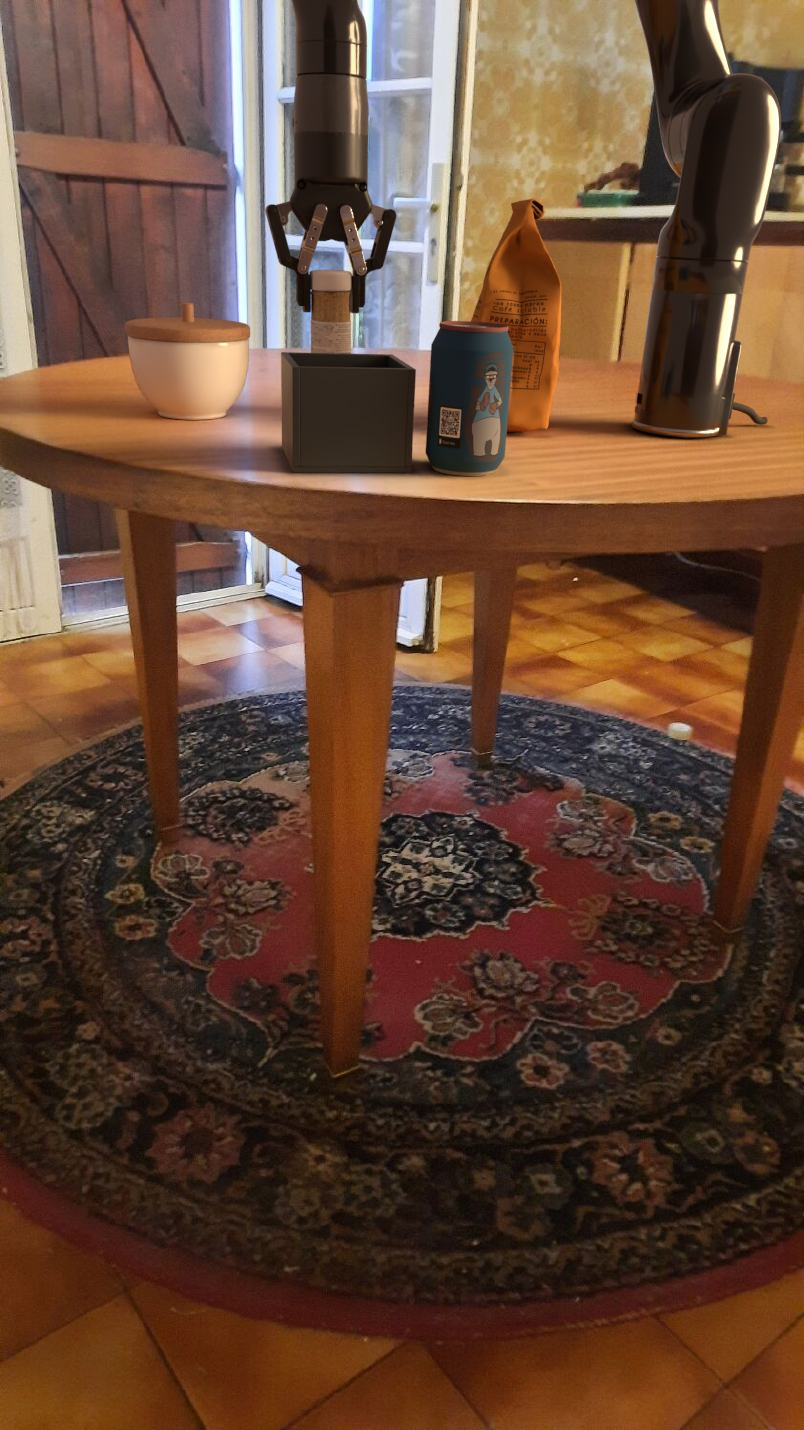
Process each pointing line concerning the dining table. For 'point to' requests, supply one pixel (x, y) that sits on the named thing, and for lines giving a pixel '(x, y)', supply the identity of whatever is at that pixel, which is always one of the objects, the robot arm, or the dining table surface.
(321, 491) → the dining table surface
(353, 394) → the storage bin
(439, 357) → the soda can
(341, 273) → the sprinkles bottle
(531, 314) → the coffee package
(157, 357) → the lidded bowl
